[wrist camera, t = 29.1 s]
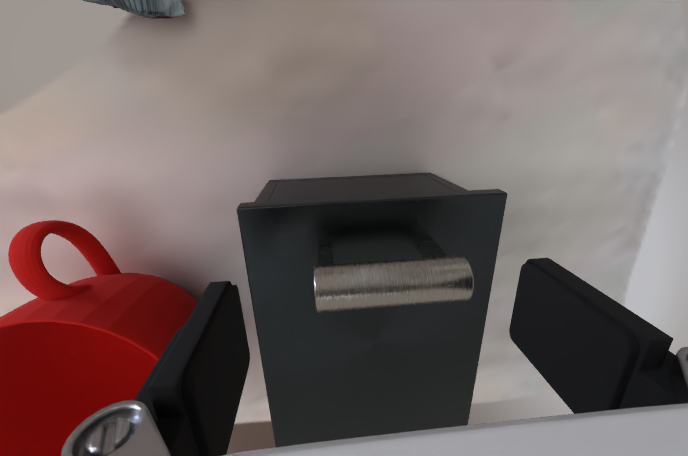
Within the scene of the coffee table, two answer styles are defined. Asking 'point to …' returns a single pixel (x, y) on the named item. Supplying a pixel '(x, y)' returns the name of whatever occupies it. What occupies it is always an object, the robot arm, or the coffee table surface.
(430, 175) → the bin
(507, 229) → the coffee table surface
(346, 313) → the bin lid
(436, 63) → the coffee table surface
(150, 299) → the ceramic cup
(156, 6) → the packaged food
